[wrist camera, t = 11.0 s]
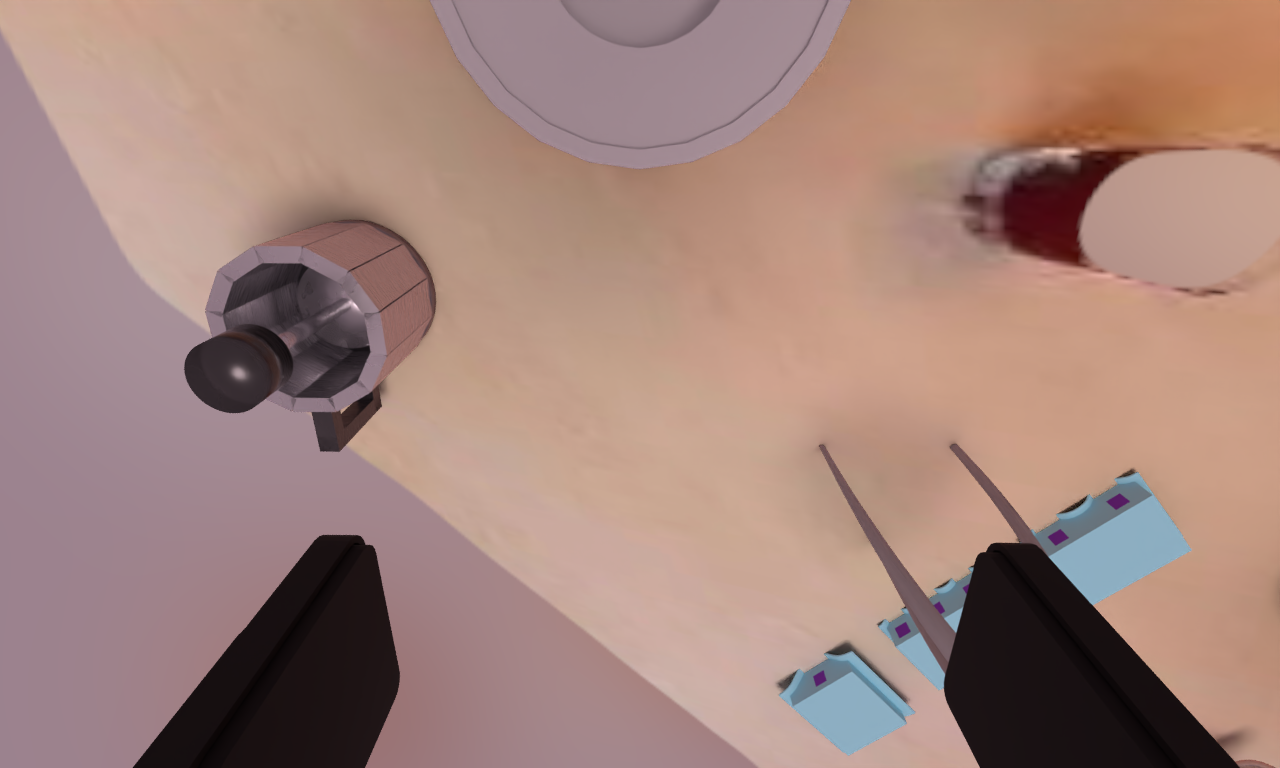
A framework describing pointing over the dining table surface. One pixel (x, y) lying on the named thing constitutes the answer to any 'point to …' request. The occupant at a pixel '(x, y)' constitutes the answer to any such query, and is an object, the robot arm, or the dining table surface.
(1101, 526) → the light blue block row
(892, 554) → the juicer
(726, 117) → the ashtray
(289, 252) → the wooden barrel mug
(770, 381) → the dining table surface
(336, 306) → the plunger
